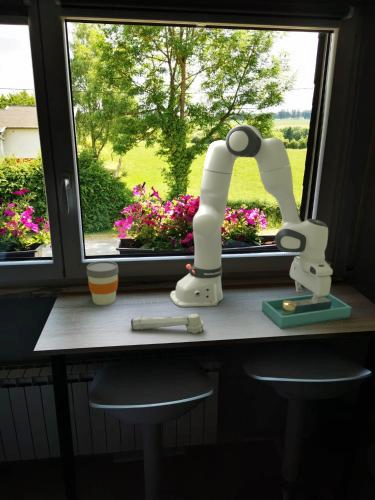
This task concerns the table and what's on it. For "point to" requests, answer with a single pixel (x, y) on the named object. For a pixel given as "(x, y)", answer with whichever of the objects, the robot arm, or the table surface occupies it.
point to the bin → (275, 313)
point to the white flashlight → (169, 322)
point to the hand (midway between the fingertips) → (305, 297)
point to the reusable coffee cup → (103, 281)
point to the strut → (305, 306)
